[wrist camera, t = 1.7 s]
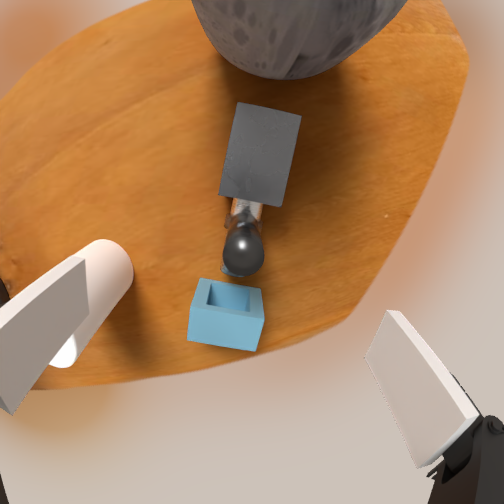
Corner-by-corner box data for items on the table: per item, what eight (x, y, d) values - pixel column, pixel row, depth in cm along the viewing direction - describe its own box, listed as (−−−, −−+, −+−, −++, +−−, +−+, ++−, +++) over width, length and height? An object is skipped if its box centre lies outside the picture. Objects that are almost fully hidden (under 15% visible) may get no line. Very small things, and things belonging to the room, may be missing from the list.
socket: (200, 277, 35) (190, 306, 28) (260, 288, 35) (264, 319, 28) (196, 307, 36) (186, 339, 29) (253, 317, 37) (255, 351, 30)
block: (238, 112, 28) (237, 101, 22) (291, 123, 29) (301, 116, 23) (223, 188, 31) (218, 195, 25) (274, 198, 32) (281, 207, 26)
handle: (247, 114, 28) (249, 87, 16) (283, 122, 28) (307, 100, 16) (218, 260, 33) (205, 315, 21) (251, 266, 33) (254, 324, 22)
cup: (144, 264, 34) (86, 336, 19) (118, 305, 36) (67, 380, 21) (96, 227, 32) (17, 275, 17) (75, 271, 34) (9, 331, 19)
